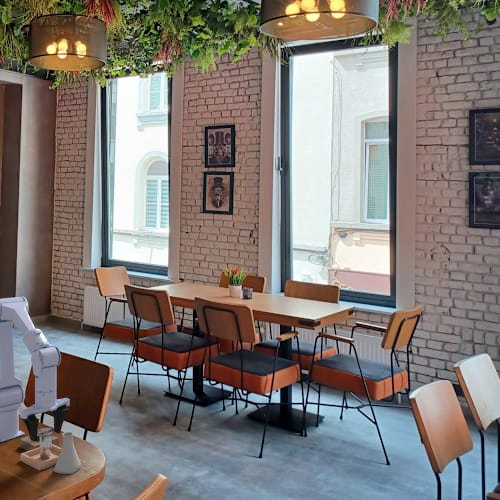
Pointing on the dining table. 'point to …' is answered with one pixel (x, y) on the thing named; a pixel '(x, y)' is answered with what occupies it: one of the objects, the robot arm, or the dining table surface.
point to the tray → (39, 464)
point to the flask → (67, 456)
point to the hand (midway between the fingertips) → (45, 436)
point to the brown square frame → (31, 445)
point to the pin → (45, 443)
